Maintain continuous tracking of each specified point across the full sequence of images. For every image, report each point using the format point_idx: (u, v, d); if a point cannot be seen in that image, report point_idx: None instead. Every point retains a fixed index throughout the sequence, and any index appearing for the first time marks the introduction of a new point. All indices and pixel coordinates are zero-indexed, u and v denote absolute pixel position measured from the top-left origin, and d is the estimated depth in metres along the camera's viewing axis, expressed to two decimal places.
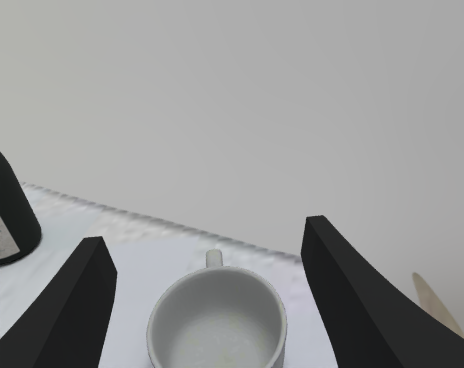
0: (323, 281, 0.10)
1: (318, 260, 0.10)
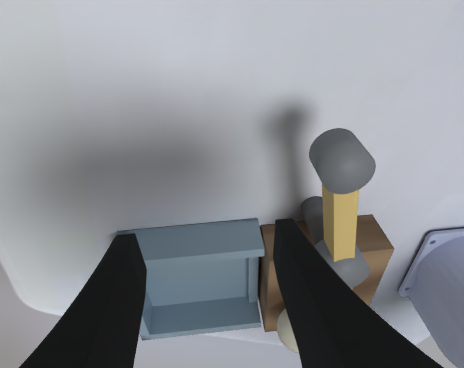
0: (289, 284, 0.10)
1: (284, 263, 0.10)
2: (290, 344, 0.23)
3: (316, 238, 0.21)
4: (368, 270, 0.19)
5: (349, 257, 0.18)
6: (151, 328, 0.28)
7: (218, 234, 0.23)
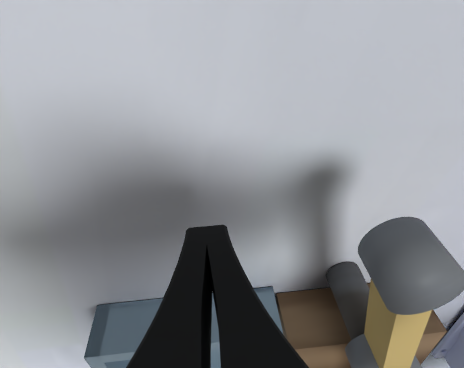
0: (213, 292, 0.10)
1: (210, 271, 0.10)
2: None
3: (351, 325, 0.16)
4: None
5: None
6: None
7: None
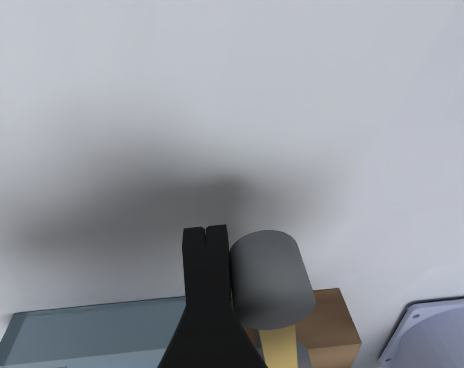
0: None
1: None
2: None
3: (257, 337, 0.16)
4: None
5: None
6: None
7: (139, 320, 0.18)
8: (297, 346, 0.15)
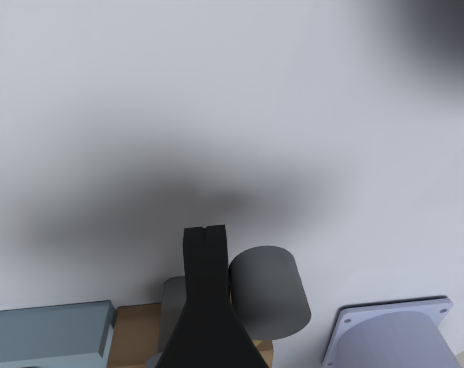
0: None
1: None
2: None
3: (158, 344, 0.16)
4: None
5: None
6: None
7: (49, 326, 0.18)
8: None
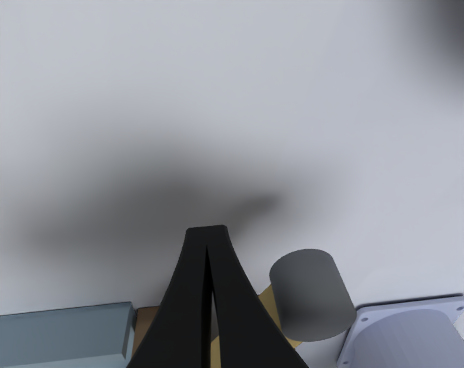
0: None
1: (210, 271, 0.10)
2: None
3: None
4: None
5: None
6: None
7: (71, 328, 0.18)
8: None
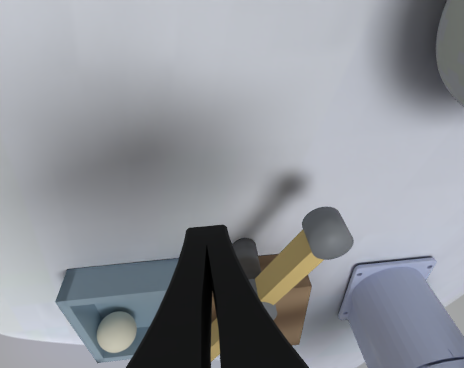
0: (213, 292, 0.10)
1: (210, 271, 0.10)
2: (98, 341, 0.28)
3: None
4: (273, 319, 0.22)
5: (271, 303, 0.21)
6: (105, 352, 0.31)
7: (156, 272, 0.26)
8: None
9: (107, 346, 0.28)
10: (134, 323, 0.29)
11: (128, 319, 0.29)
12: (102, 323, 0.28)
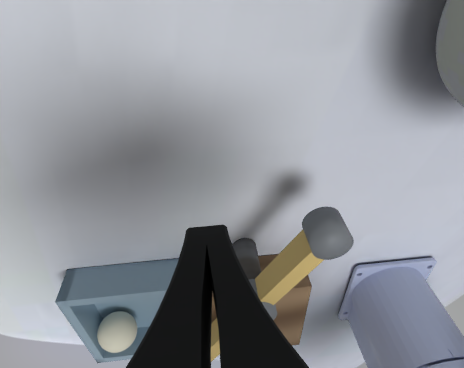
0: (213, 292, 0.10)
1: (210, 271, 0.10)
2: None
3: None
4: (273, 319, 0.22)
5: (271, 303, 0.21)
6: (105, 352, 0.31)
7: (156, 272, 0.26)
8: None
9: (108, 346, 0.28)
10: (134, 322, 0.29)
11: (128, 319, 0.29)
12: (103, 324, 0.28)
